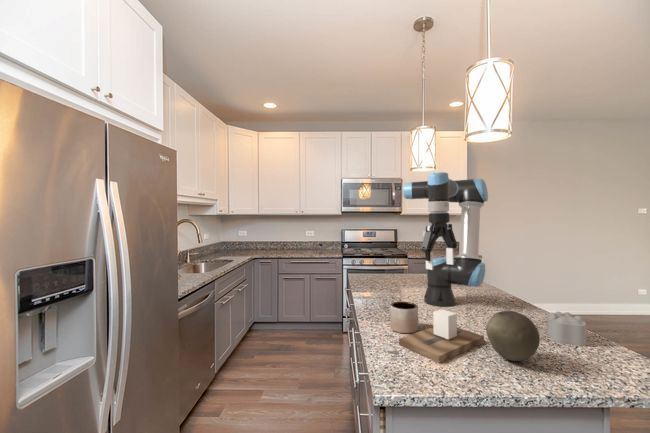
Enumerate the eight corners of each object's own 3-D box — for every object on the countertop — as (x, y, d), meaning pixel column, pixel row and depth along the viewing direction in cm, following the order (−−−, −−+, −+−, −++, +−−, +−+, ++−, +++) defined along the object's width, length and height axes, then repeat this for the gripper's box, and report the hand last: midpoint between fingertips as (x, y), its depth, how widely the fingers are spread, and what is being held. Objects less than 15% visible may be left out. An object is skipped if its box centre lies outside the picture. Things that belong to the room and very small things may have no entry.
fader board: (443, 328, 119) (443, 322, 119) (484, 342, 106) (483, 335, 106) (399, 344, 105) (399, 338, 105) (439, 363, 92) (439, 355, 92)
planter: (407, 322, 127) (406, 300, 127) (424, 331, 116) (424, 307, 116) (385, 326, 123) (384, 303, 123) (401, 336, 113) (400, 310, 113)
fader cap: (441, 330, 110) (441, 309, 110) (457, 336, 106) (456, 313, 105) (433, 333, 108) (433, 311, 108) (448, 339, 103) (448, 316, 103)
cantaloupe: (483, 347, 102) (483, 303, 102) (532, 354, 97) (532, 308, 97) (490, 367, 89) (489, 317, 89) (547, 376, 84) (546, 322, 84)
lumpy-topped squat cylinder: (552, 342, 106) (552, 318, 106) (543, 329, 117) (543, 307, 117) (590, 347, 101) (590, 322, 101) (577, 333, 113) (577, 310, 113)
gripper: (427, 213, 106) (428, 273, 107) (465, 211, 121) (466, 263, 121) (410, 213, 112) (411, 269, 113) (448, 211, 127) (449, 261, 127)
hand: (440, 266), depth 117 cm, fingers open, 13 cm apart
